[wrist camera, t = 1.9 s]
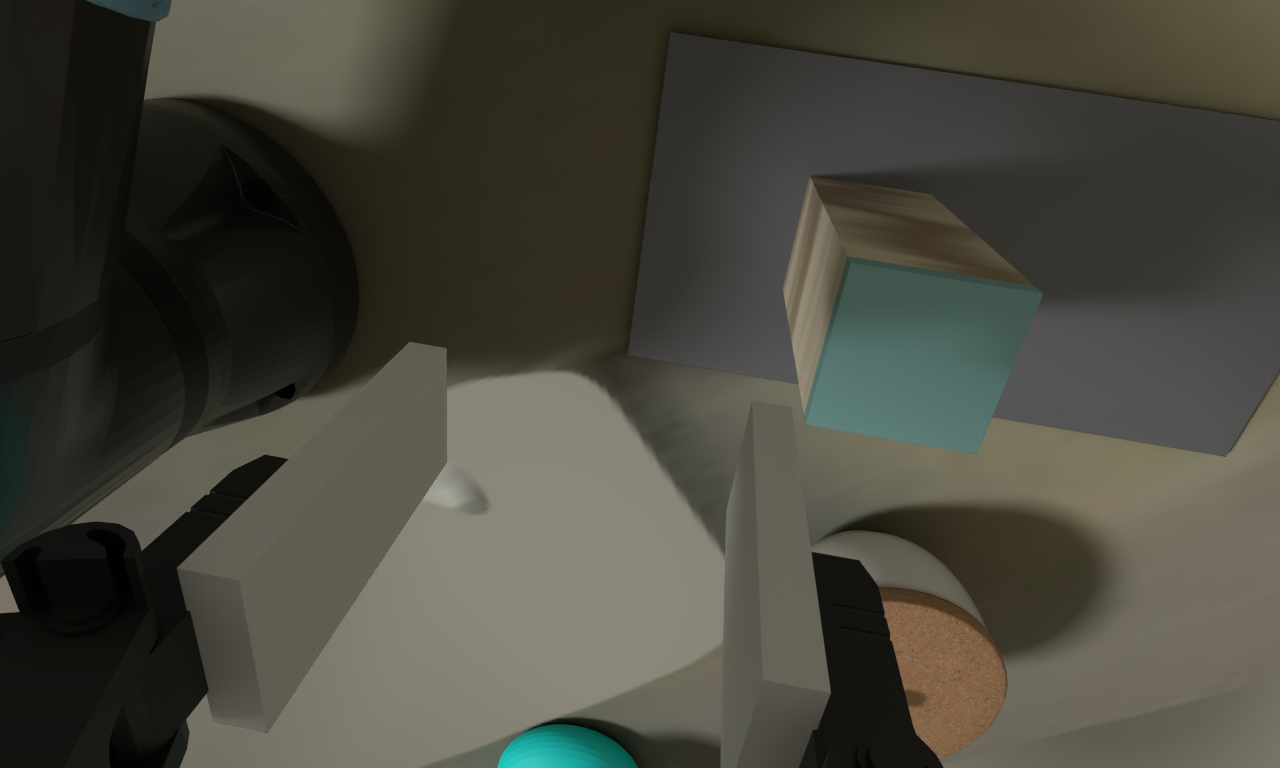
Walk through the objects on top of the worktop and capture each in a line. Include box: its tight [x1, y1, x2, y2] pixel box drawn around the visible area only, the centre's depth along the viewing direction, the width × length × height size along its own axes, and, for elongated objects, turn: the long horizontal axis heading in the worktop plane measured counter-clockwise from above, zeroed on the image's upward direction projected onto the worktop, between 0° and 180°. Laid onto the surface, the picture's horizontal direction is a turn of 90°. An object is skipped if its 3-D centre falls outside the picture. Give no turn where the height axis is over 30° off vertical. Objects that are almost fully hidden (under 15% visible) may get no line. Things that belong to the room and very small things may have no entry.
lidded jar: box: [810, 530, 1008, 759], centre depth 35 cm, size 11×11×9 cm
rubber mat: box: [628, 32, 1280, 457], centre depth 30 cm, size 28×14×1 cm, turn 83°
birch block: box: [783, 176, 1043, 454], centre depth 25 cm, size 5×5×12 cm
